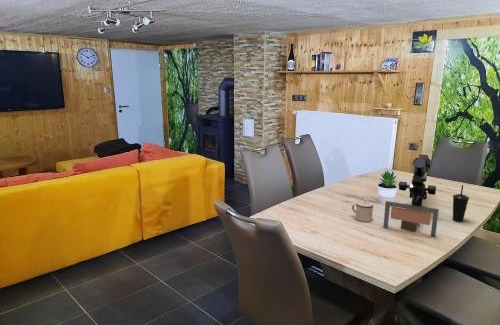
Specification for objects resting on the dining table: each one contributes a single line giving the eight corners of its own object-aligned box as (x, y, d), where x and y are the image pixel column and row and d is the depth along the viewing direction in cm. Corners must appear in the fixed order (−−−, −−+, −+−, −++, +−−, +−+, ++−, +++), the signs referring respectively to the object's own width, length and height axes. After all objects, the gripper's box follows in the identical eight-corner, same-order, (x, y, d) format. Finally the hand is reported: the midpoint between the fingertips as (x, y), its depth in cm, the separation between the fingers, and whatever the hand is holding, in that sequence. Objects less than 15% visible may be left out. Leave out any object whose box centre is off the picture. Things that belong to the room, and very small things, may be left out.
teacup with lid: (375, 219, 194) (377, 199, 191) (367, 223, 188) (368, 203, 185) (355, 213, 202) (357, 194, 200) (347, 217, 196) (348, 197, 194)
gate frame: (384, 226, 184) (386, 201, 181) (435, 235, 172) (438, 209, 169) (383, 227, 182) (385, 202, 179) (435, 237, 170) (438, 210, 167)
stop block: (406, 220, 192) (407, 206, 191) (420, 222, 189) (421, 208, 187) (400, 228, 181) (402, 214, 179) (415, 232, 177) (417, 217, 176)
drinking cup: (460, 224, 186) (465, 188, 182) (446, 219, 193) (451, 184, 188) (469, 221, 190) (474, 186, 185) (455, 216, 196) (460, 182, 192)
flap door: (390, 217, 181) (391, 206, 180) (429, 224, 172) (431, 213, 171) (390, 218, 180) (391, 207, 179) (429, 225, 171) (430, 213, 170)
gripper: (400, 167, 197) (395, 191, 190) (438, 171, 188) (434, 197, 181) (401, 177, 205) (396, 201, 199) (437, 182, 196) (433, 206, 190)
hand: (414, 201), depth 192 cm, fingers closed
